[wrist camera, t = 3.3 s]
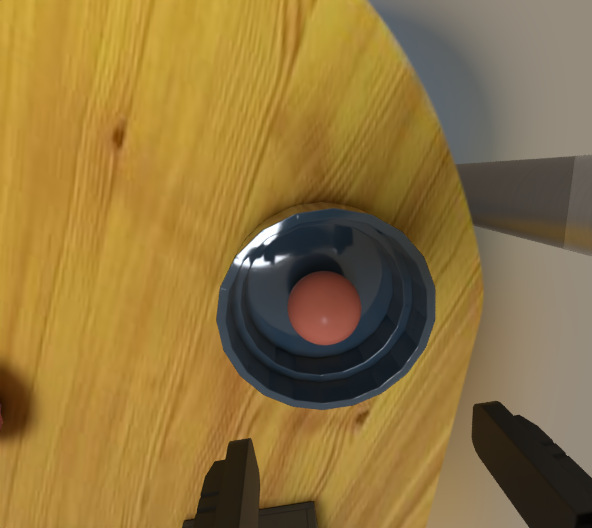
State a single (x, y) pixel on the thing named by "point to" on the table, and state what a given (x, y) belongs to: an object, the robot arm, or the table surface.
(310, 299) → the toy ball
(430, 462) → the table surface
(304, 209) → the bowl
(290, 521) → the bin
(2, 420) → the apple
